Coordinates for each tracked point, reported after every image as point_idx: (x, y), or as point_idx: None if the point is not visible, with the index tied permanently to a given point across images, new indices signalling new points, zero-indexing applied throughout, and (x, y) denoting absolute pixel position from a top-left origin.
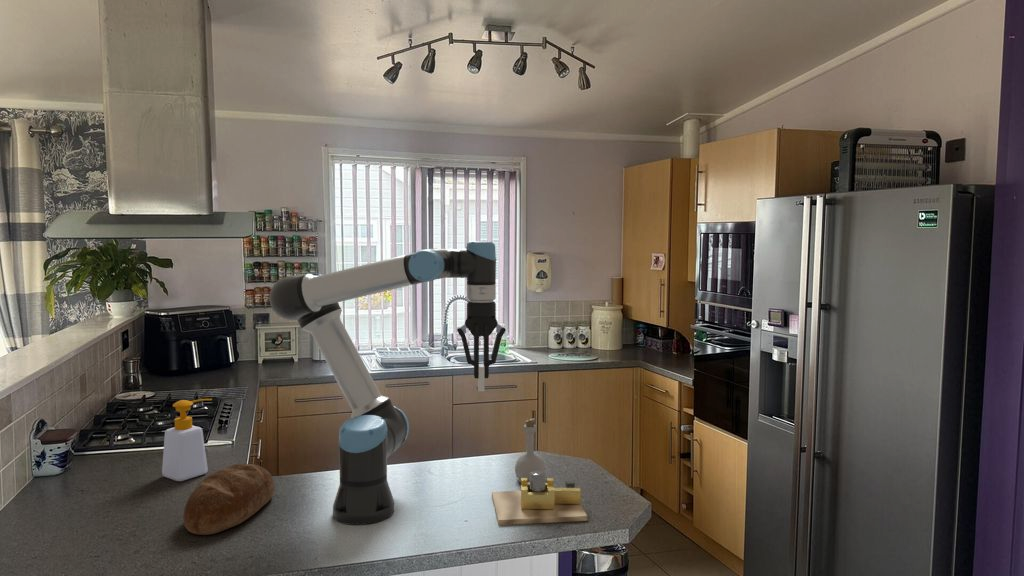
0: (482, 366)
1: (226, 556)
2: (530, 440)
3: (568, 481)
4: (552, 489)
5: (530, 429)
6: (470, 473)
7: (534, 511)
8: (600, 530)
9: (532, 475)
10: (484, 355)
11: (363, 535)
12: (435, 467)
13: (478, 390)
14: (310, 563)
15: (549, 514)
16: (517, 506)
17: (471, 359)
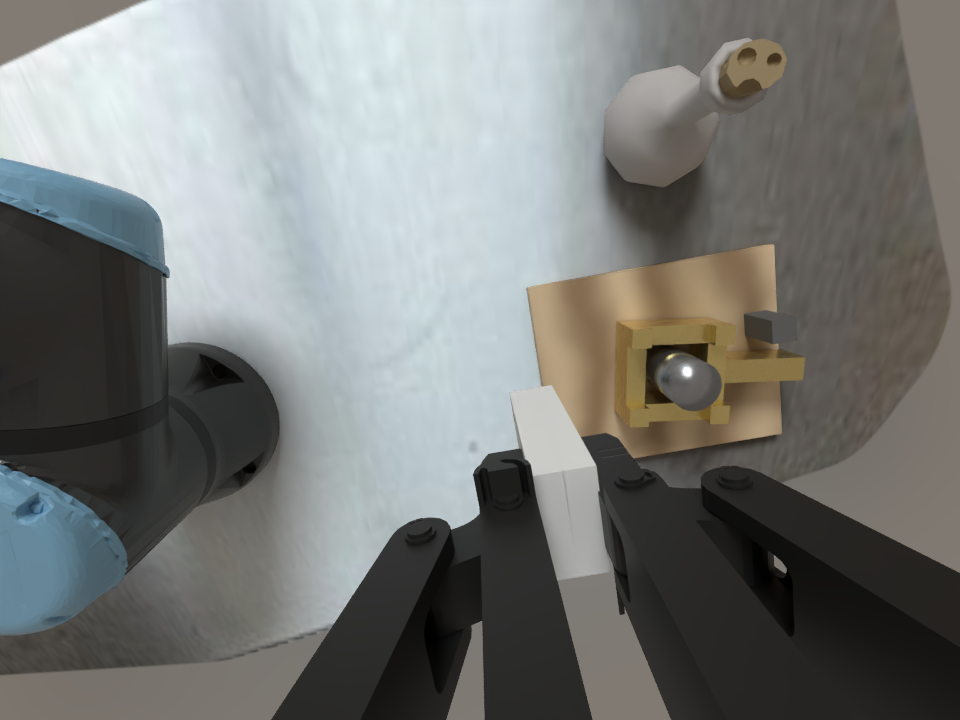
0: (586, 551)
1: (12, 636)
2: (707, 114)
3: (780, 326)
4: (722, 417)
5: (733, 113)
6: (439, 84)
7: None
8: (795, 477)
9: (677, 402)
10: (655, 672)
11: (250, 535)
12: (301, 24)
13: (517, 438)
14: (194, 649)
15: (686, 432)
16: (604, 388)
17: (457, 599)
